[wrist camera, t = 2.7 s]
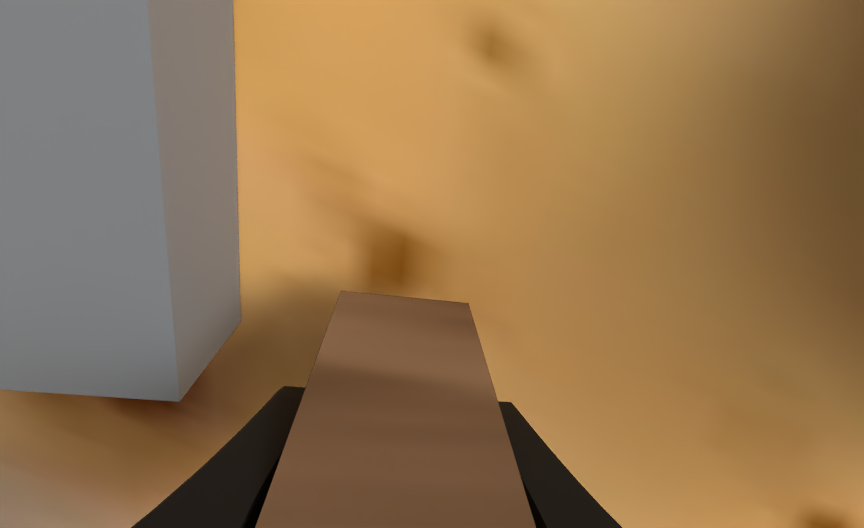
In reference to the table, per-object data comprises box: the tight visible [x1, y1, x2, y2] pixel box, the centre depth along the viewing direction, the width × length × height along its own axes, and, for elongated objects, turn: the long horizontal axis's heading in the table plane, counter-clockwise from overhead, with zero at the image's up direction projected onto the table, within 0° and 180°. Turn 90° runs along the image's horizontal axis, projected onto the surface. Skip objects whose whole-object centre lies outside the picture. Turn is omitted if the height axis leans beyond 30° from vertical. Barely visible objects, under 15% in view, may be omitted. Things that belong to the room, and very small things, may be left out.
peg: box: [255, 291, 536, 528], centre depth 8 cm, size 3×3×8 cm
